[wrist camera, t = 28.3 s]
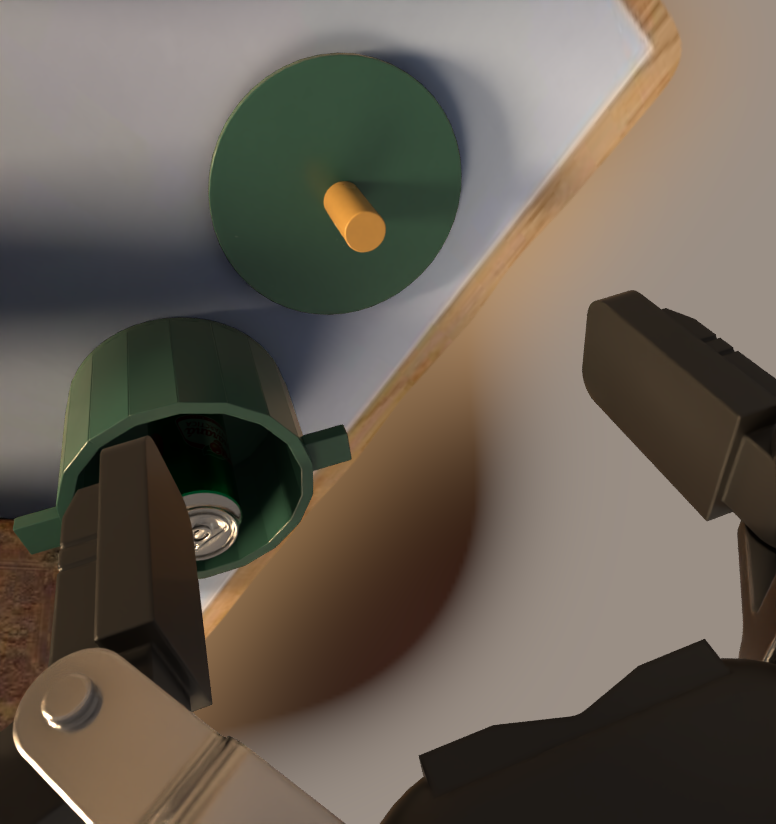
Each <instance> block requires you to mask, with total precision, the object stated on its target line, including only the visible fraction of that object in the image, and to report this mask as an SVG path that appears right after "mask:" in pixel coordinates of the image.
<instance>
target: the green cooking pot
mask: <svg viewBox="0 0 776 824" xmlns="http://www.w3.org/2000/svg"><path fill="white" fill-rule="evenodd" d="M177 414H223V419H224V424H225V429H226V435H227V440H228V445H229V450H230V455H231V460H232V465H233V470H234V475H235V480H236V485H237V490H238V495H239V500H240V505H241V510H242V522H241V525H240V527H239V529H238V535H237V538H236V540H235V542H234V543H233V544H232V545H231V546H230V547H229V548H228V549H227V550H226V551H224V552H223V553H221V554H219V555H217V556H215V557H212V558H209V559H205V560H198V561H196V566H197V574H198V579H202V578H207V577H211V576H214V575H217V574H220V573H223V572H226V571H230V570H233V569H236V568H239V567H242V566H245V565H247V564H249V563H250V562H252V561H254V560H255V559H257V558H259V557H260V556H262V555H264V554H265V553H267V552H269V551H271V550H272V549H274V548H276V546H278V545H279V544H280V542H281V541H282V540H283V539H284V538H285V537H286V536H287V535H288V534H289V533H290V532H291V531H292V530H293V529H294V528H295V527H296V526H297V525H298V524H299V522H300V521H301V519H302V517H303V515H304V513H305V511H306V508H307V506H308V504H309V502H310V500H311V498H312V495H313V471H315V470H318V469H321V468H325V467H328V466H331V465H335V464H338V463H341V462H345V461H348V460H351V459H352V458H351V452H350V447H349V441H348V436H347V432H346V430H345V427H344V425H343V424H342V425H338V426H335V427H331V428H328V429H324V430H321V431H317V432H314V433H310V434H307V435H303V434H302V431H301V428H300V425H299V422H298V419H297V416H296V413H295V410H294V407H293V404H292V401H291V398H290V395H289V392H288V389H287V386H286V384H285V382H284V380H283V378H282V376H281V374H280V371H279V369H278V367H277V365H276V363H275V362H274V360H273V358H272V357H271V356H270V355H269V354H268V352H267V351H266V350H265V349H264V348H263V347H262V346H261V345H260V344H259V343H257V342H256V341H254V340H253V339H252V338H250V337H249V336H248V335H246V334H244V333H242V332H240V331H239V330H237V329H234V328H232V327H229V326H227V325H224V324H221V323H217V322H214V321H210V320H204V319H197V318H181V317H178V318H164V319H158V320H153V321H148V322H144V323H141V324H138V325H135V326H132V327H130V328H127V329H125V330H123V331H120V332H118V333H117V334H115V335H113V336H112V337H110V338H108V339H107V340H105V341H104V342H103V343H101V344H100V345H99V346H98V347H96V348H95V349H94V350H93V351H92V352H91V353H90V354H89V355H88V356H87V357H86V359H85V360H84V361H83V363H82V364H81V366H80V367H79V368H78V370H77V372H76V374H75V376H74V378H73V380H72V382H71V387H70V391H69V397H68V402H67V407H66V413H65V423H64V432H63V442H62V452H61V461H60V471H59V480H58V490H57V500H56V507H52V508H49V509H45V510H42V511H38V512H35V513H31V514H28V515H24V516H21V517H17V518H15V520H14V525H13V531H14V533H15V534H16V535H17V536H18V538H19V539H20V540H21V542H22V543H23V544H24V546H25V547H26V548H27V550H28V551H29V552H30V554H31V555H33V554H36V553H39V552H43V551H46V550H49V549H53V548H56V547H60V536H61V525H62V517H63V515H64V513H65V512H66V510H67V508H68V506H69V505H70V503H71V501H72V499H73V497H74V496H75V494H76V492H77V490H78V489H82V488H85V487H88V486H91V485H95V484H98V483H99V473H100V453H101V451H102V449H105V448H108V447H111V446H114V445H118V444H121V443H124V442H128V441H131V440H134V439H138V438H141V437H144V436H147V435H148V426H147V423H148V422H151V421H155V420H159V419H163V418H166V417H170V416H174V415H177Z"/></svg>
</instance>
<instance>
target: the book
mask: <svg viewBox="0 0 776 824" xmlns="http://www.w3.org/2000/svg"><path fill="white" fill-rule="evenodd" d="M13 525H14V520H13V519H1V518H0V732H1V731H2V730H4V729H5V728H6V727H7V726H8V725H9V724H11V723H12V722H13V721H14V717H15V713H16V710H17V708H18V705H19V703H20V701H21V699H22V697H23V696H24V694H25V692H26V691H27V689H28V688H29V687H30V685H31V684H32V683H33V681H34V680H35V679H36V678H37V677H38V676H39V675H40V674H41V673H42V672H43V671H44V670H46V669H47V668H48V662H49V655H50V645H51V634H52V623H53V612H54V601H55V590H56V579H57V573H59V570H58V557H59V550H61V547H56V548H53V549H49V550H46V551H43V552H39V553H36V554H33V555H31V554H30V552H29V551H28V550H27V548H26V547H25V546H24V544H23V543H22V542H21V540H20V539H19V538H18V536H17V535H16V534H15V533H14V531H13Z"/></svg>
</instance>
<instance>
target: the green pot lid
mask: <svg viewBox="0 0 776 824" xmlns="http://www.w3.org/2000/svg"><path fill="white" fill-rule="evenodd" d="M461 175H462V173H461V161H460V154H459V149H458V145H457V140H456V138H455V135H454V132H453V129H452V126H451V124H450V122H449V120H448V118H447V116H446V114H445V112H444V111H443V109H442V108H441V106H440V105H439V103H438V102H437V101H436V99H435V98H434V96H433V95H432V94H431V93H430V92H429V91H428V90H427V89H426V88H425V87H424V86H423V85H422V84H421V83H420V82H418V81H417V80H416V79H414V78H413V77H412V76H411V75H409V74H408V73H406V72H405V71H403V70H401V69H399V68H397V67H396V66H394V65H392V64H390V63H388V62H385V61H382V60H380V59H377V58H374V57H370V56H365V55H360V54H354V53H330V54H320V55H316V56H312V57H308V58H304V59H300V60H298V61H296V62H293V63H291V64H289V65H286V66H284V67H282V68H280V69H279V70H277V71H275V72H274V73H272V74H271V75H269V76H267V77H266V78H265V79H263V80H262V81H261V82H260V83H259V84H257V85H256V86H255V87H254V88H253V89H251V90H250V92H249V93H248V94H247V95H246V96H245V97H244V98H243V99H242V100H241V101H240V102H239V104H238V105H237V106H236V108H235V109H234V111H233V112H232V114H231V115H230V117H229V118H228V120H227V121H226V123H225V125H224V127H223V129H222V132H221V134H220V136H219V138H218V141H217V144H216V147H215V150H214V153H213V156H212V161H211V166H210V171H209V185H208V196H209V208H210V213H211V218H212V222H213V227H214V230H215V233H216V235H217V238H218V241H219V244H220V246H221V248H222V250H223V252H224V253H225V255H226V257H227V259H228V261H229V262H230V263H231V265H232V266H233V267H234V269H235V270H236V272H237V273H238V274H239V275H240V276H241V277H242V278H243V279H244V280H245V281H246V282H247V283H248V284H249V285H250V286H251V287H252V288H254V289H255V290H256V291H257V292H259V293H260V294H262V295H263V296H265V297H266V298H268V299H270V300H271V301H273V302H275V303H278V304H280V305H282V306H284V307H287V308H290V309H294V310H297V311H300V312H306V313H312V314H327V315H331V314H344V313H349V312H354V311H359V310H362V309H365V308H369V307H372V306H374V305H376V304H379V303H381V302H383V301H385V300H387V299H389V298H391V297H392V296H394V295H396V294H397V293H399V292H400V291H402V290H403V289H404V288H406V287H407V286H409V285H410V284H411V283H412V282H413V281H414V280H415V279H417V278H418V277H419V276H420V275H421V274H422V273H423V272H424V271H425V269H426V268H427V267H428V266H429V265H430V264H431V262H432V261H433V260H434V258H435V257H436V255H437V254H438V252H439V251H440V250H441V248H442V246H443V244H444V242H445V240H446V239H447V237H448V235H449V232H450V230H451V227H452V225H453V222H454V220H455V216H456V212H457V209H458V205H459V199H460V192H461Z"/></svg>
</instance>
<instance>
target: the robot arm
mask: <svg viewBox="0 0 776 824" xmlns="http://www.w3.org/2000/svg"><path fill="white" fill-rule="evenodd" d="M582 373H583V379H584V383H585V386H586V389H587V391H588V393H589V395H590V396H591V398H592V399H593V400H594V402H595V403H596V404H597V405H598V406H599V407H600V408H601V409H602V410H603V411H604V412H605V413H606V414H607V415H608V416H609V417H610V419H611V420H612V421H613V422H614V423H615V424H616V425H617V426H618V427H619V428H620V429H621V430H622V431H623V432H624V434H626V436H627V437H628V438H629V439H630V440H631V441H632V442H633V443H634V444H635V445H636V446H637V447H638V448H639V450H641V452H642V453H643V454H644V455H645V456H646V457H647V458H648V459H649V460H650V461H651V462H652V463H653V464H654V465H655V467H656V468H657V469H658V470H659V471H660V472H661V473H662V474H663V475H664V476H665V477H666V478H667V479H668V480H669V481H670V483H671V484H673V486H674V487H675V488H676V489H677V490H678V491H679V492H680V493H681V494H682V495H683V496H684V497H685V499H686V500H687V501H688V502H689V503H690V504H691V505H692V506H693V507H694V508H695V509H696V510H697V511H698V512H699V514H700V515H701V516H702V517H703V518H704V519H705V520H706V521H709V520H712V519H715V518H717V517H720V516H723V515H725V514H728V513H731V512H734V513H735V514H736V515H737V516H738V517H739V518H740V519H741V522H740V525H739V528H738V533H737V535H738V552H739V566H740V583H741V598H742V613H743V635H742V642H741V647H740V651H739V658H738V659H732V658H731V659H730V658H721V659H720V658H719V656H718V655H717V654H716V652H715V651H714V650H713V649H712V648H711V646H710V645H709V644H708V642H707V641H706V640H705V639H703V640H701V641H698V642H696V643H693V644H691V645H689V646H686V647H684V648H681V649H679V650H676V651H674V652H671V653H669V654H666V655H664V656H662V657H660V658H657V659H654V660H652V661H650V662H647V663H644V664H642V665H640V666H638V667H637V668H635V669H634V670H633V671H632V672H631V673H629V674H628V675H627V676H626V677H625V678H624V679H622V680H621V681H620V682H619V683H617V684H616V685H615V686H614V687H613V688H611V689H610V690H609V691H608V692H607V693H605V694H604V695H603V696H602V697H601V698H599V699H598V700H597V701H596V702H595V703H593V704H592V705H591V706H590V707H589V708H587V709H586V710H585V711H584V712H582V713H580V714H578V715H575V716H571V717H563V718H553V719H545V720H536V721H527V722H518V723H509V724H500V725H493V726H490V727H488V728H485V729H483V730H480V731H478V732H475V733H473V734H471V735H468V736H466V737H463V738H461V739H458V740H456V741H453V742H451V743H449V744H446V745H444V746H441V747H439V748H436V749H434V750H431V751H429V752H427V753H424V754H422V755H419V759H420V763H421V768H422V772H423V776H424V777H423V778H421V779H420V780H419V781H418V782H417V783H415V784H414V785H413V786H412V787H410V788H409V789H408V790H407V791H406V792H405V793H404V795H403V796H402V797H401V798H400V799H399V800H398V801H397V802H396V803H395V804H394V805H393V807H392V808H391V809H390V811H389V812H388V813H387V815H386V816H385V817H384V819H383V820H382V821H381V823H380V824H776V379H775V378H774V377H773V376H771V375H770V374H768V373H767V372H766V371H764V370H763V369H761V368H760V367H759V366H758V365H756V364H755V363H753V362H752V361H751V360H750V359H748V358H746V357H745V356H744V355H743V354H741V353H740V352H739V351H736V352H734V350H733V347H732V346H730V345H729V344H728V343H726V342H725V341H724V340H722V339H721V338H718V339H717V338H716V334H714V333H713V332H712V331H710V330H709V329H707V328H706V327H705V326H703V325H702V324H701V323H699V322H698V321H697V320H695V319H693V318H691V317H688V316H685V315H683V314H680V313H677V312H675V311H672V310H669V309H667V308H665V309H660V308H659V307H657V306H656V305H655V304H654V303H652V302H651V301H649V300H648V299H647V298H646V297H644V296H643V295H642V294H640V293H638V292H637V291H634V290H631V291H627V292H623V293H620V294H617V295H613V296H610V297H607V298H604V299H600V300H597V301H594V302H593V303H592V304H591V305H590V306H589V309H588V314H587V324H586V334H585V345H584V355H583V366H582ZM60 547H61V550H59V557H58V570H59V573H57V579H56V590H55V601H54V612H53V623H52V634H51V645H50V655H49V662H48V668H47V669H46V670H44V671H43V672H42V673H41V674H40V675H39V676H38V677H37V678H36V679H35V680H34V681H33V683H32V684H31V685H30V687H29V688H28V689H27V691H26V692H25V694H24V696H23V697H22V699H21V701H20V703H19V705H18V708H17V710H16V713H15V717H14V721H13V722H12V723H11V724H9V725H8V726H7V727H6V728H5V729H4V730H2V731H1V732H0V824H345V823H344V822H342V821H341V820H340V819H339V818H338V817H336V816H335V815H334V814H333V813H331V812H330V811H329V810H327V809H326V808H325V807H324V806H322V805H321V804H320V803H318V802H317V801H316V800H315V799H313V798H312V797H311V796H310V795H308V794H307V793H306V792H304V791H303V790H302V789H301V788H299V787H298V786H297V785H295V784H294V783H293V782H291V781H290V780H289V779H288V778H287V777H285V776H284V775H283V774H281V773H280V772H279V771H278V770H276V769H275V768H274V767H273V766H271V765H270V764H269V763H267V762H266V761H265V760H264V759H262V758H261V757H260V756H259V755H257V754H256V753H255V752H253V751H252V750H251V749H249V748H248V747H247V746H245V745H244V744H242V743H241V742H240V741H238V740H237V739H235V738H233V737H230V736H228V737H227V738H226V737H223V736H222V735H220V734H218V733H217V732H216V731H214V730H213V729H212V728H211V727H209V726H208V725H207V724H206V723H204V722H203V721H202V720H201V719H199V718H198V717H197V716H195V715H194V714H193V713H192V712H194V711H196V710H199V709H202V708H204V707H207V706H210V705H212V696H211V687H210V679H209V670H208V663H207V662H208V661H207V653H206V645H205V635H204V627H203V618H202V609H201V600H200V592H199V583H198V574H197V566H196V557H195V548H194V539H193V531H192V525H191V521H190V517H189V514H188V510H187V507H186V505H185V502H184V500H183V497H182V495H181V493H180V491H179V489H178V487H177V485H176V483H175V482H174V480H173V478H172V476H171V474H170V472H169V470H168V468H167V466H166V464H165V462H164V460H163V458H162V456H161V454H160V452H159V450H158V449H157V447H156V445H155V443H154V441H153V440H152V438H151V437H150V436H148V435H147V436H144V437H141V438H138V439H134V440H131V441H128V442H124V443H121V444H118V445H114V446H111V447H108V448H105V449H102V451H101V453H100V473H99V483H98V484H95V485H91V486H88V487H85V488H82V489H78V490H77V492H76V494H75V496H74V497H73V499H72V501H71V503H70V505H69V506H68V508H67V510H66V512H65V513H64V515H63V517H62V525H61V536H60Z"/></svg>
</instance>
